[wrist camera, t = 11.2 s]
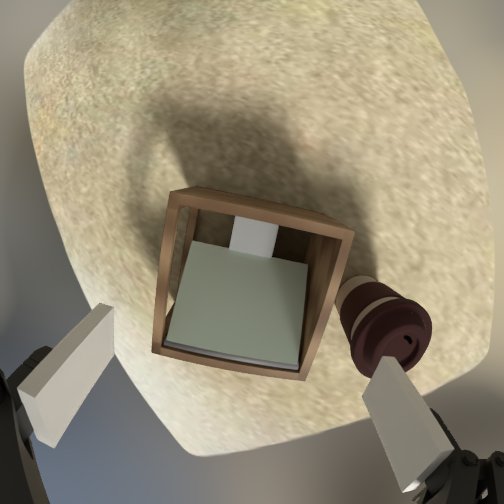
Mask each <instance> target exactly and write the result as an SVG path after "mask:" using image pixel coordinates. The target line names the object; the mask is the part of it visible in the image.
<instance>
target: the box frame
mask: <svg viewBox="0 0 504 504" xmlns="http://www.w3.org/2000/svg"><path fill="white" fill-rule="evenodd" d="M185 206H189V207H190V213H189V219H188V224H187V230H186V236H185V243H184V249H183V255H182V262H181V269H180V276H179V283H178V290H179V287H180V283H181V279H182V275H183V272H184V268H185V264H186V261H187V257H188V254H189V250H190V247H191V243H192V241H194V235H195V230H196V224H197V218H198V213H199V209H204V210H209V211H214V212H219V213H224V214H229V215H234V216H238V217H243V218H248V219H253V220H257V221H262V222H267V223H271V224H276V225H281V226H285V227H290V228H294V229H299V230H303V231H307V232H312V233H311V236H310V240H309V244H308V248H307V252H306V256H305V260H304V263H303V264H308V269H307V281H306V292H305V302H304V312H303V321H302V331H301V339H300V348H299V356H298V361H299V368H298V370H294V369H286V368H279V367H272V366H265V365H259V364H253V363H247V362H241V361H236V360H230V359H225V358H220V357H215V356H210V355H205V354H200V353H196V352H191V351H187V350H183V349H178V348H174V347H170V346H166V345H164V339H165V337H166V336H167V335H168V331H169V326H170V322H171V318H172V314H173V310H174V306H175V302H176V300H175V302H174V304H173V306H172V307H171V309H170V311H169V313H168V314H167V316H166V308H167V298H168V290H169V282H170V274H171V266H172V259H173V252H174V245H175V238H176V232H177V226H178V219H179V214H180V209H181V208H183V207H185ZM354 234H355V231H353V230H351V229H350V228H348V227H346V226H344V225H343V224H341V223H339V222H337V221H335V220H334V219H332V218H330V217H328V216H326V215H325V214H322V213H318V212H313V211H309V210H305V209H301V208H297V207H292V206H288V205H284V204H279V203H275V202H270V201H266V200H261V199H256V198H252V197H247V196H242V195H237V194H232V193H227V192H222V191H217V190H212V189H207V188H202V187H196V186H195V187H190V188H185V189H180V190H175V191H170V194H169V200H168V206H167V212H166V218H165V225H164V231H163V238H162V246H161V253H160V261H159V269H158V278H157V288H156V298H155V309H154V321H153V335H152V353H155V354H159V355H162V356H166V357H170V358H175V359H179V360H183V361H187V362H192V363H196V364H201V365H205V366H210V367H215V368H220V369H226V370H231V371H237V372H242V373H248V374H254V375H261V376H268V377H275V378H282V379H290V380H299V381H305V380H306V378H307V375H308V373H309V370H310V368H311V365H312V363H313V360H314V357H315V355H316V352H317V349H318V347H319V344H320V341H321V339H322V336H323V333H324V330H325V327H326V325H327V322H328V319H329V316H330V313H331V310H332V307H333V304H334V301H335V298H336V295H337V292H338V289H339V285H340V282H341V279H342V276H343V272H344V269H345V266H346V262H347V259H348V256H349V252H350V248H351V245H352V241H353V238H354ZM177 294H178V291H177ZM165 317H166V318H165Z"/></svg>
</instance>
